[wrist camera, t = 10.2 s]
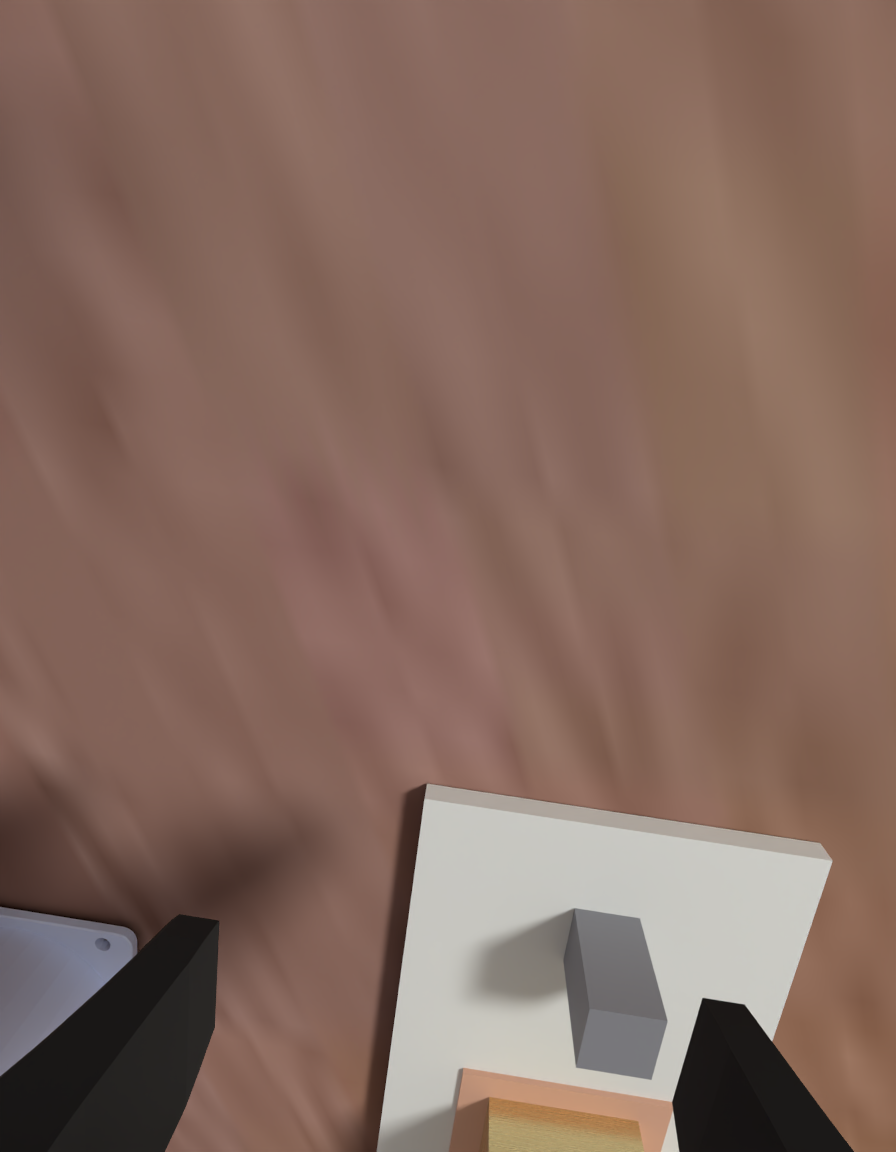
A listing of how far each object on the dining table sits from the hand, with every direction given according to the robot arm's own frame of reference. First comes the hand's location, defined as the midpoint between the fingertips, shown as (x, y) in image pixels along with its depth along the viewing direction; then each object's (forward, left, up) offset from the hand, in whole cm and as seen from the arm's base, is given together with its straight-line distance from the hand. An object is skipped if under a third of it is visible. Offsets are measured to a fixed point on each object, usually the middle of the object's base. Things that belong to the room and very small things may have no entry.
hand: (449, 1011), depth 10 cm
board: (+5, -12, -10) cm, 17 cm away
